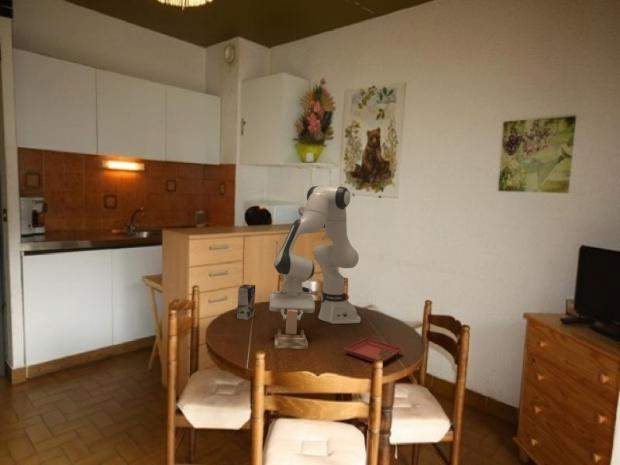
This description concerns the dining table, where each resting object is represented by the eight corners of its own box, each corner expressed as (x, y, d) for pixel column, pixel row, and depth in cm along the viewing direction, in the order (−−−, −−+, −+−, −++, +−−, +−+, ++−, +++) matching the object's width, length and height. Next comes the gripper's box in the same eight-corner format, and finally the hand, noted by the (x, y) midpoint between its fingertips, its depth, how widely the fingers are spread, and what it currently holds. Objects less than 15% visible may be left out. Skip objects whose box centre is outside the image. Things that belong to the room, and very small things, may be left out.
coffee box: (248, 320, 207) (250, 288, 205) (236, 318, 208) (237, 287, 206) (254, 315, 216) (256, 285, 214) (243, 313, 217) (244, 283, 215)
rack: (305, 337, 186) (306, 329, 186) (307, 348, 173) (308, 339, 173) (274, 337, 185) (275, 328, 184) (274, 348, 172) (275, 338, 172)
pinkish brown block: (295, 331, 180) (297, 309, 179) (296, 334, 177) (297, 311, 176) (285, 331, 180) (287, 308, 179) (285, 333, 176) (287, 311, 176)
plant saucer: (342, 355, 170) (343, 347, 170) (365, 344, 184) (366, 337, 184) (381, 368, 159) (381, 360, 158) (402, 356, 173) (403, 348, 172)
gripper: (269, 287, 183) (268, 315, 174) (315, 289, 185) (315, 317, 176) (269, 294, 188) (267, 322, 179) (313, 296, 189) (314, 324, 181)
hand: (291, 319), depth 177 cm, fingers closed on pinkish brown block, 4 cm apart
